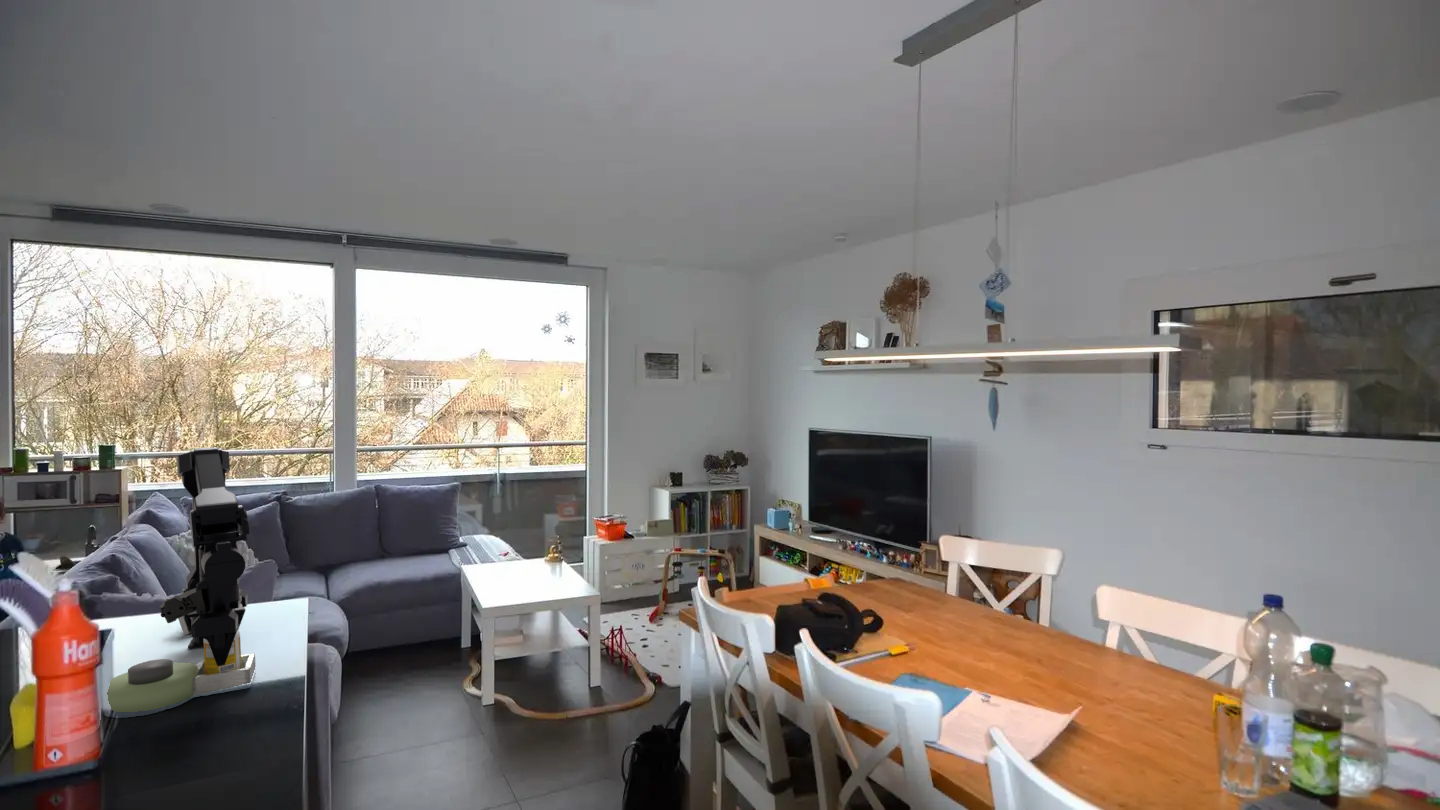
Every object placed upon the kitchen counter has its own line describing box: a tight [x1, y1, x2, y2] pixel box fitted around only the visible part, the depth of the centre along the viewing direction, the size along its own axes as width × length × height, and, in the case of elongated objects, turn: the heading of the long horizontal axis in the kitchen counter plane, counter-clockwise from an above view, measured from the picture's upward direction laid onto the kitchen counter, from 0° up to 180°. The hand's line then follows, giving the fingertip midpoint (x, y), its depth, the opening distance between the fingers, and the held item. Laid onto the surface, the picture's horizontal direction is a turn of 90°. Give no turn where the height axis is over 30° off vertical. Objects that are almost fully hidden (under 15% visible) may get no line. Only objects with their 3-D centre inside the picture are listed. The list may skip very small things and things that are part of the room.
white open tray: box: [192, 652, 256, 695], centre depth 132 cm, size 9×9×4 cm
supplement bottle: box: [203, 629, 242, 674], centre depth 132 cm, size 5×5×10 cm
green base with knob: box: [107, 658, 198, 712], centre depth 126 cm, size 13×13×6 cm
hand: (223, 660), depth 132 cm, fingers open, 5 cm apart
